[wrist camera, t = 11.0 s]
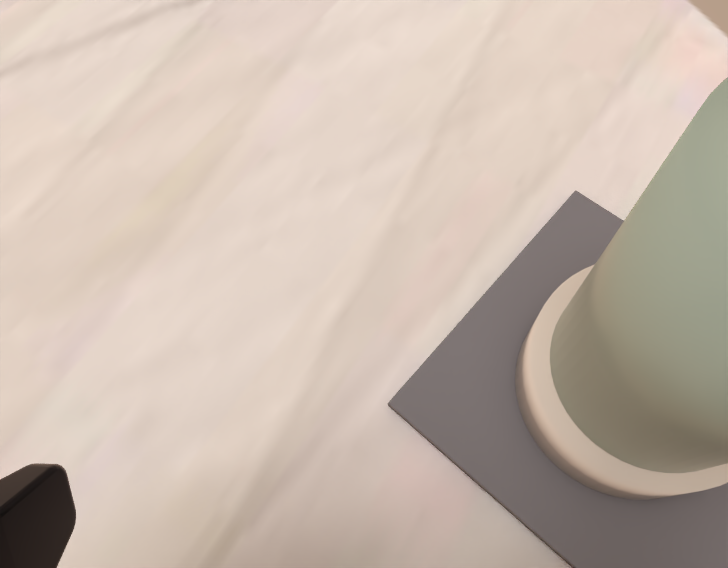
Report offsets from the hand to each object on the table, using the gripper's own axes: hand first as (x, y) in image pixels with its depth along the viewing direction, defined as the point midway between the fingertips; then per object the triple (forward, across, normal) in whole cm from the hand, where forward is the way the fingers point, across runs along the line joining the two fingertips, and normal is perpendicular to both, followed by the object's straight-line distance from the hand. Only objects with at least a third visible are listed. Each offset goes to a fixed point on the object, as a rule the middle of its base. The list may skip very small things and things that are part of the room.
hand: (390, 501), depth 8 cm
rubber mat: (+13, -8, +6) cm, 17 cm away
